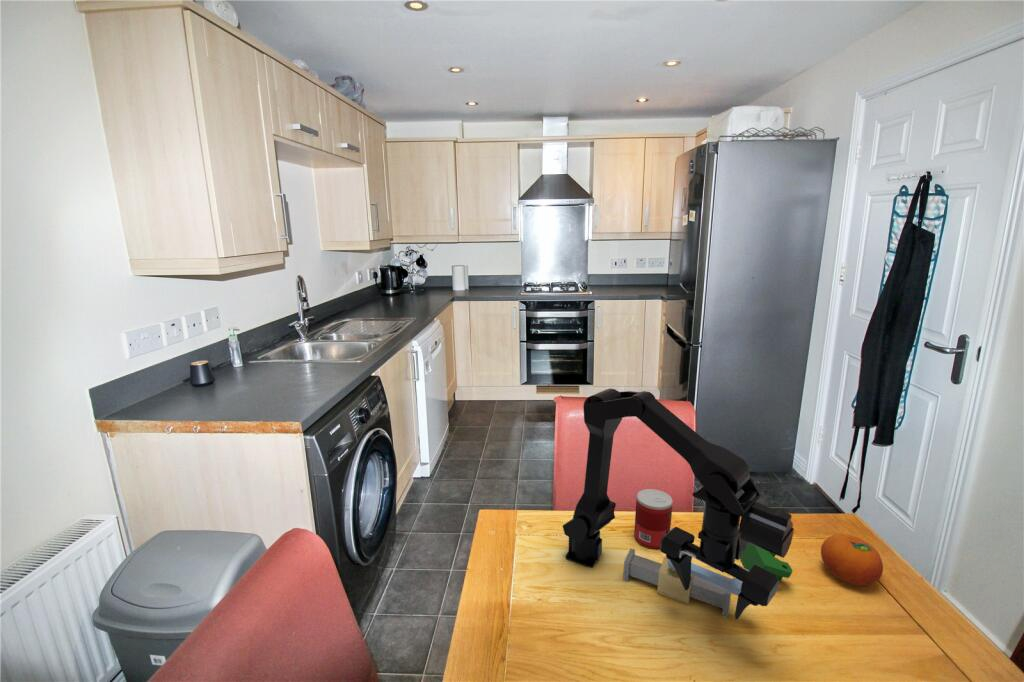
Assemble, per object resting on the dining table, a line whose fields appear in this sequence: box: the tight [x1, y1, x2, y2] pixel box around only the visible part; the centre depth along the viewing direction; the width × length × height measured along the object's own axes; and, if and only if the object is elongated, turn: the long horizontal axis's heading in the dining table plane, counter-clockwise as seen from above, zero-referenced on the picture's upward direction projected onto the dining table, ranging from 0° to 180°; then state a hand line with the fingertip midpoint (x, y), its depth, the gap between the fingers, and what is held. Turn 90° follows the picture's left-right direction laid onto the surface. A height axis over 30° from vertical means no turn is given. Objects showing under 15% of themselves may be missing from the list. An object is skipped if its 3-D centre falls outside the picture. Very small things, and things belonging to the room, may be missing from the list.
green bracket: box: [739, 542, 793, 583], centre depth 100 cm, size 12×6×9 cm, turn 166°
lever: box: [668, 559, 742, 597], centre depth 90 cm, size 4×17×2 cm, turn 54°
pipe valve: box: [622, 548, 732, 618], centre depth 94 cm, size 20×5×5 cm, turn 61°
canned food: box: [633, 488, 674, 550], centre depth 109 cm, size 8×8×11 cm
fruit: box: [820, 533, 884, 586], centre depth 98 cm, size 11×10×8 cm
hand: (711, 602), depth 84 cm, fingers open, 9 cm apart
